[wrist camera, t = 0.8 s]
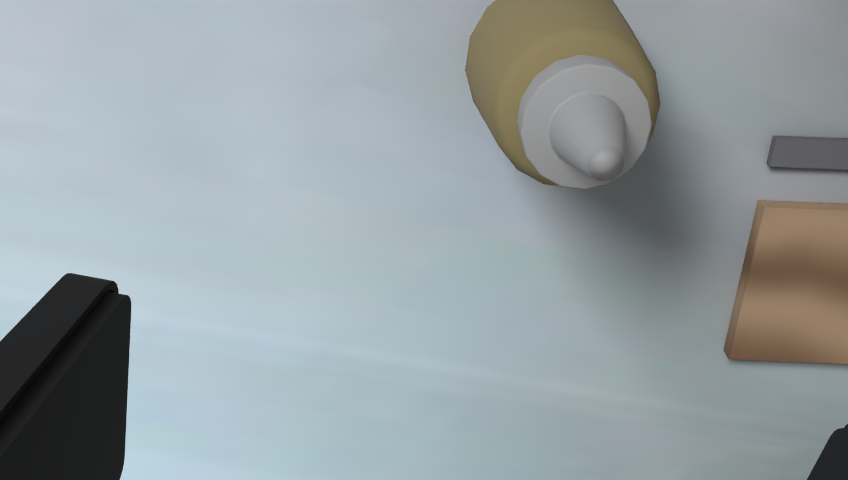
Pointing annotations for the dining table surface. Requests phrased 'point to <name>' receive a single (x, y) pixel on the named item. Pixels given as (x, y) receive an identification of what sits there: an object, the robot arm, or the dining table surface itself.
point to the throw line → (808, 152)
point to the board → (793, 286)
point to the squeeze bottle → (563, 89)
